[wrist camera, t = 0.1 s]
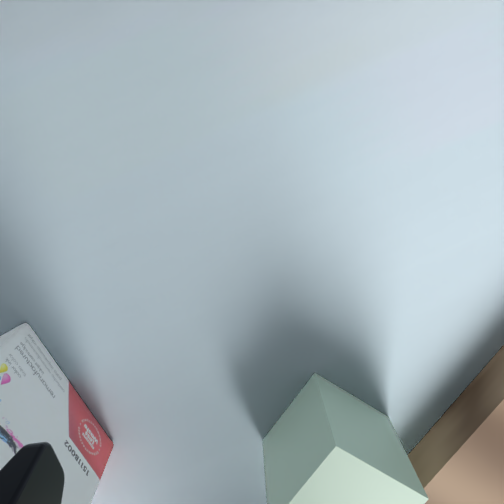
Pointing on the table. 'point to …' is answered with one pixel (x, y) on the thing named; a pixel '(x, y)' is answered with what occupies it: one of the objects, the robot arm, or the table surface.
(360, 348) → the table surface
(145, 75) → the table surface
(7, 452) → the ink cartridge box
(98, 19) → the table surface
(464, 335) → the table surface
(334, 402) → the sage block
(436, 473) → the walnut base
